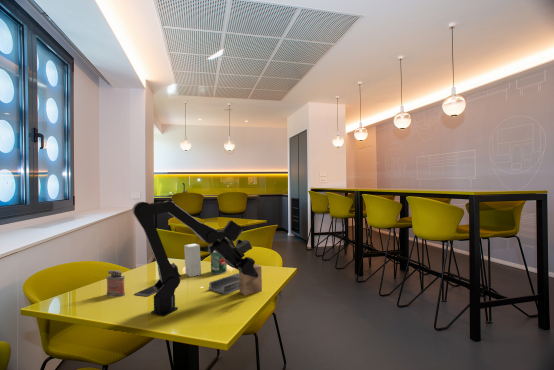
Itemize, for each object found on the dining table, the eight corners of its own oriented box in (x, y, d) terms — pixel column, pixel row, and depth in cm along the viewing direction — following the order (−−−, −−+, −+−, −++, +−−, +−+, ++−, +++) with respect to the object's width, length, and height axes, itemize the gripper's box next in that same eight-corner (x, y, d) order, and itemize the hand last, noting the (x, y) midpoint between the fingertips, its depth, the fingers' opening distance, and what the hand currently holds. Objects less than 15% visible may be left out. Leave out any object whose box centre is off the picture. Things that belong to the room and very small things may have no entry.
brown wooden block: (244, 295, 112) (243, 269, 113) (239, 292, 116) (238, 267, 116) (261, 291, 117) (261, 266, 117) (256, 288, 120) (256, 264, 121)
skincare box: (201, 275, 141) (200, 245, 141) (189, 277, 138) (188, 246, 138) (196, 271, 148) (195, 242, 148) (184, 273, 145) (183, 244, 145)
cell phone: (133, 295, 116) (133, 294, 116) (158, 284, 129) (158, 283, 129) (147, 297, 114) (147, 295, 114) (171, 286, 127) (171, 284, 127)
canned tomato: (211, 270, 149) (210, 249, 149) (226, 269, 150) (226, 248, 151) (210, 274, 141) (210, 252, 141) (226, 273, 143) (226, 251, 143)
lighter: (127, 294, 117) (126, 269, 118) (120, 297, 114) (120, 272, 114) (111, 292, 120) (110, 268, 120) (104, 295, 116) (104, 271, 116)
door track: (225, 294, 114) (224, 287, 114) (208, 289, 120) (208, 282, 120) (252, 283, 126) (252, 276, 126) (236, 279, 133) (236, 273, 133)
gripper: (249, 237, 107) (275, 262, 112) (230, 231, 123) (254, 253, 128) (230, 261, 102) (258, 286, 108) (213, 252, 118) (239, 274, 124)
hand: (252, 273), depth 117 cm, fingers open, 9 cm apart
